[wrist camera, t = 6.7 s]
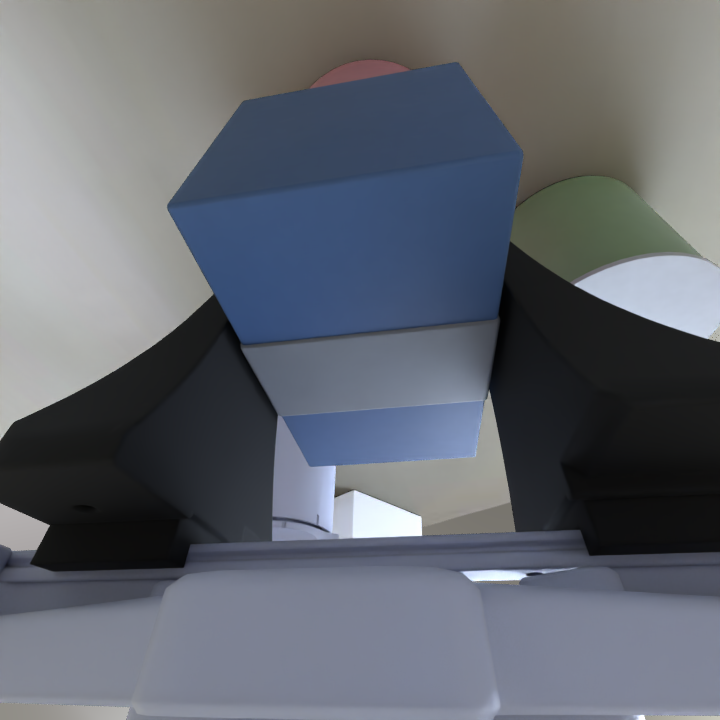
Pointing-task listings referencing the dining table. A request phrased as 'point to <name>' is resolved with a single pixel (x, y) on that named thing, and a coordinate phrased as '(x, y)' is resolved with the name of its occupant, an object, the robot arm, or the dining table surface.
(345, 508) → the milk
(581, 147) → the dining table surface
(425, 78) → the block
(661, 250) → the green yogurt
